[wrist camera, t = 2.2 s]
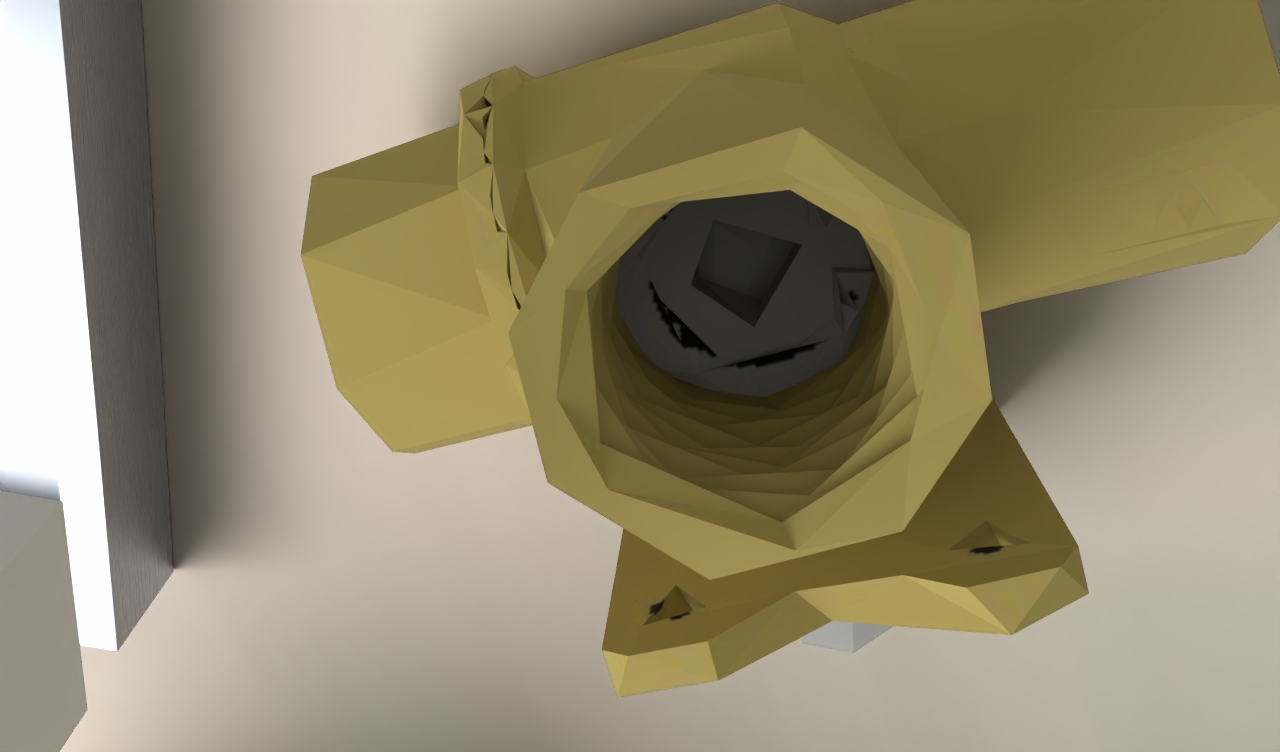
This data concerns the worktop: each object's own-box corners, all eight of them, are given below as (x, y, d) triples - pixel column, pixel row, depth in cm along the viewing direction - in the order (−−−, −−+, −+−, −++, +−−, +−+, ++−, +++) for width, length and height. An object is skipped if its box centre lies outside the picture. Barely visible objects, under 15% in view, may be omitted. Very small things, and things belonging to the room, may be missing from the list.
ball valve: (371, 99, 21) (542, 591, 24) (64, 230, 11) (415, 1025, 14) (1110, -117, 19) (1193, 449, 22) (1502, -182, 9) (1553, 842, 12)
